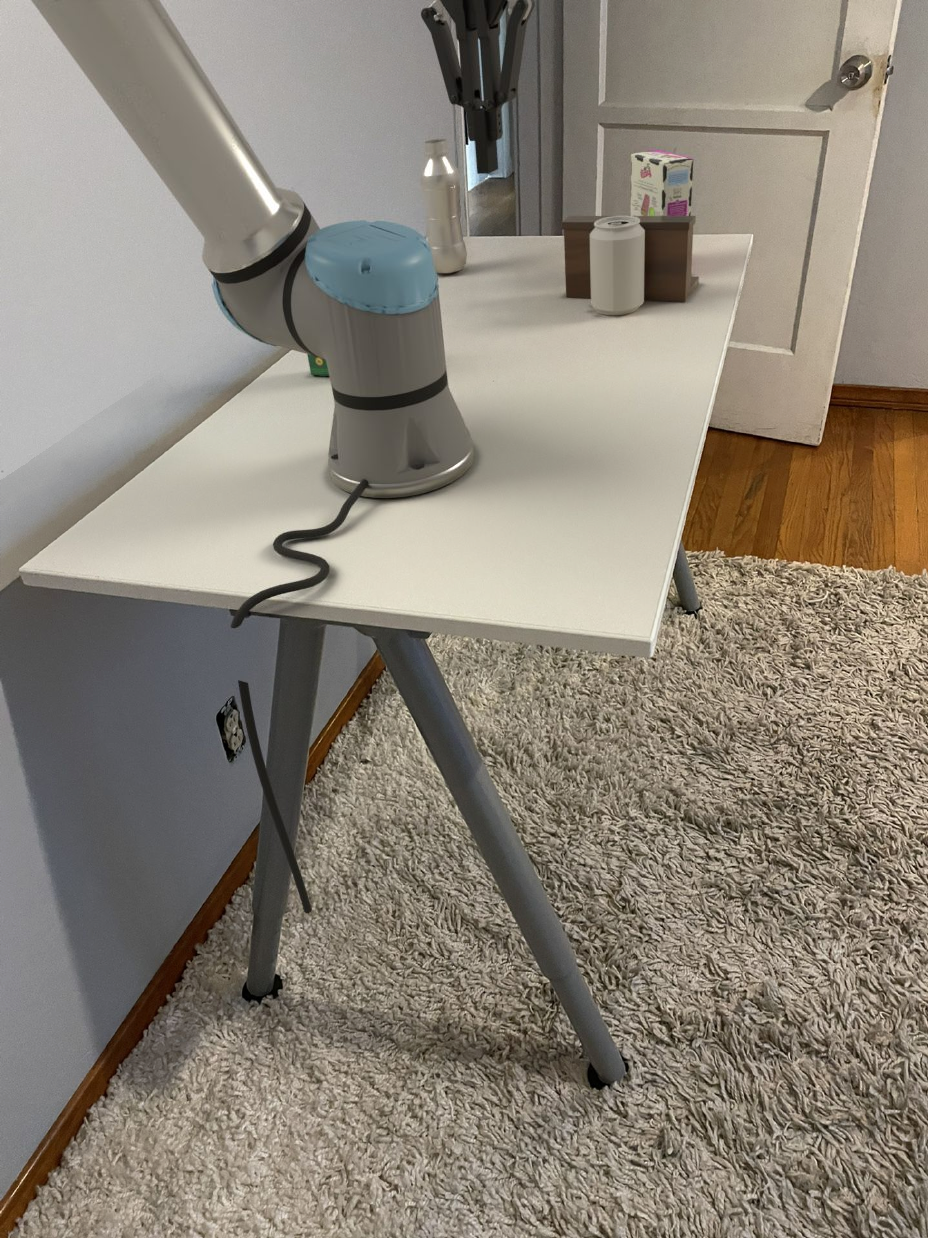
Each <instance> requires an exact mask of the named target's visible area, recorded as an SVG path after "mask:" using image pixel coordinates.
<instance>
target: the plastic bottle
mask: <svg viewBox="0 0 928 1238" xmlns="http://www.w3.org/2000/svg"><path fill="white" fill-rule="evenodd" d="M423 148H424V152H423V153H424V156H426V160H425V162H424V164H423V166H422V168H421V170H420V174H419V179H418V181H419V186H420V190H421V194H422V199H423V202H424V209H425V214H426V221H427V240H428V241H427V242H428V244H429V246H430V249H431V252H432V258H433V263H434V269H435V271H436V273H437V274H451V273H455V272H459V271H462V270H463V269H465V267H466V264H467V261H468V252H467V247H466V243H465V240H464V235H463V229H462V223H461V214H460V208H461V207H460V191H461V189H460V188H461V183H460V182H461V174H460V171H459V169H458V168H457V166H456V164H455V163H454V162H453V161H452V160H451V159H450V157H449V155H448V154H449V153H450V149H449V144H448V140H447V138H436V139H429V140H426V141H424V142H423Z"/></svg>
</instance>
